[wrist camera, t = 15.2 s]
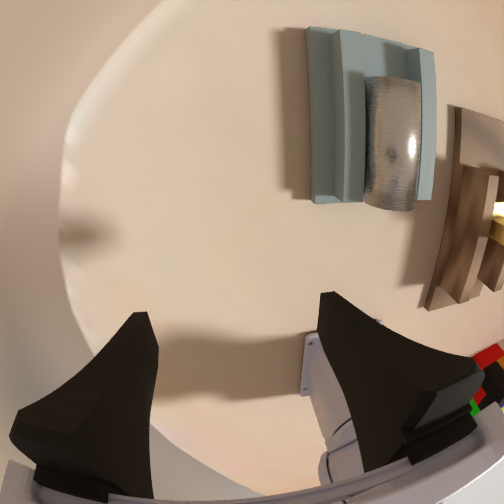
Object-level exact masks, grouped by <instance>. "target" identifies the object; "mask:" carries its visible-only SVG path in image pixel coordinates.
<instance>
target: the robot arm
mask: <svg viewBox="0 0 504 504" xmlns="http://www.w3.org/2000/svg"><path fill="white" fill-rule="evenodd" d="M310 342H311V343H310ZM158 354H159V346H158V344H157V341H156V338H155V335H154V332H153V329H152V326H151V323H150V320H149V316H148V313H147V312H133V314H132V315H131V316H130V317H129V318H128V319H127V320H126V322H125V323H124V324H123V325H122V327H121V328H120V329H119V330H118V331H117V333H116V334H115V335H114V336H113V337H112V338H111V340H110V341H109V342H108V343H107V344H106V345H105V346H104V347H103V349H102V350H101V351H100V352H99V353H98V354H97V355H96V356H95V357H94V358H93V359H92V360H91V361H90V362H89V363H88V364H87V365H86V366H85V367H84V368H83V369H82V370H81V371H80V372H78V373H77V374H76V375H75V376H74V377H72V378H71V379H70V380H68V381H67V382H66V383H64V384H63V385H62V386H61V387H59V388H58V389H56V390H55V391H53V392H52V393H50V394H49V395H47V396H45V397H44V398H42V399H40V400H38V401H37V402H35V403H33V404H31V405H29V406H27V407H25V408H23V409H20V410H18V413H17V415H16V418H15V420H14V423H13V426H12V428H11V431H10V434H9V437H10V440H11V442H12V443H13V444H14V445H15V446H16V447H17V448H18V449H19V450H20V451H21V452H22V453H23V454H25V455H26V456H27V457H28V458H29V459H31V460H32V461H33V462H34V463H36V464H37V465H36V469H35V470H34V469H32V468H30V467H28V466H26V465H23V464H20V463H18V462H15V461H13V460H9V461H8V464H7V468H6V472H5V475H4V480H3V484H2V488H1V492H0V504H443V502H444V500H446V499H447V498H449V497H451V496H453V495H454V494H456V493H457V492H459V491H460V490H462V489H464V488H465V487H466V486H468V485H469V484H471V483H472V482H474V481H475V480H477V479H478V478H479V477H481V476H482V475H483V474H485V473H486V472H487V471H489V470H490V469H491V468H492V467H494V466H495V465H496V464H498V463H499V462H500V461H501V460H502V459H503V458H504V413H503V411H502V410H501V408H500V407H499V405H498V404H497V403H496V402H493V403H492V404H490V405H489V406H487V407H486V408H484V409H483V410H481V411H480V412H479V413H477V414H476V415H475V416H474V417H472V415H471V414H470V412H471V411H472V406H471V405H470V403H469V402H470V401H471V399H472V398H473V396H474V395H475V394H476V392H477V391H478V389H479V388H480V386H481V385H482V383H483V380H484V377H485V374H484V372H483V370H482V369H481V368H480V366H479V365H478V364H477V363H476V361H475V360H474V359H473V358H470V357H464V356H459V355H454V354H450V353H446V352H443V351H439V350H436V349H433V348H430V347H427V346H425V345H422V344H420V343H417V342H415V341H412V340H410V339H408V338H406V337H404V336H402V335H400V334H398V333H396V332H394V331H392V330H390V329H389V328H387V327H385V326H384V323H383V322H382V320H377V321H376V320H374V319H373V318H371V317H370V316H368V315H367V314H365V313H364V312H362V311H361V310H360V309H358V308H357V307H355V306H354V305H353V304H351V303H350V302H349V301H347V300H346V299H344V298H343V297H342V296H340V295H339V294H338V293H336V292H335V291H333V292H326V293H321V295H320V306H319V316H318V325H317V332H316V333H310V334H308V335H307V336H306V337H305V344H304V355H303V365H302V375H301V384H300V396H310V399H311V402H312V405H313V408H314V411H315V414H316V417H317V420H318V423H319V426H320V429H321V432H322V435H323V437H324V439H325V440H326V441H325V444H326V447H327V450H328V451H326V452H324V453H323V454H322V456H321V458H320V463H319V466H318V475H319V480H320V484H321V486H318V487H314V488H309V489H305V490H300V491H295V492H289V493H283V494H277V495H271V496H264V497H255V498H246V499H235V500H216V501H174V500H158V499H154V496H153V489H152V480H151V470H150V455H149V454H150V453H149V423H150V411H151V405H152V399H153V393H154V387H155V381H156V375H157V369H158Z"/></svg>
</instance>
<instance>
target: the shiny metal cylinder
mask: <svg viewBox="0 0 504 504" xmlns="http://www.w3.org/2000/svg"><path fill="white" fill-rule="evenodd" d="M365 103H366V151H365V178H364V195H363V200H364V202H366V203H367V204H369V205H371V206H374V207H377V208H381V209H385V210H392V211H409V210H412V209H414V208H415V202H416V194H417V184H418V173H419V160H420V141H421V88H420V83H418V82H416V81H413V80H408V79H403V78H397V77H386V76H373V77H366V78H365Z"/></svg>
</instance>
